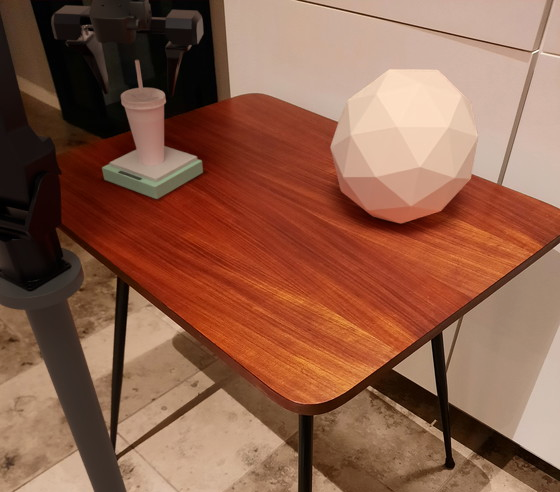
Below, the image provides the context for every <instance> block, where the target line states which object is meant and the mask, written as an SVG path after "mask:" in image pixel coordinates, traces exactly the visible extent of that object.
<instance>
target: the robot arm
mask: <svg viewBox="0 0 560 492" xmlns="http://www.w3.org/2000/svg"><path fill="white" fill-rule="evenodd" d="M50 21H51V28H52V33H53V37H54V39H55V40H58V41H65V44H66V46H67V47H69V48H73V49H75V50H76V51H77V52H78V53H80V54H81V55H82V57H83V59H84V60H85V61H86V63H87V64H88V66H89V68H90V69H91V71H92V73H93V75H94V77H95V79H96V80H97V83H98V84H99V87H100V88H101V90H102V92H103V94H104V95H108V94H110V85H109V83H110V82H109V76H108V72H107V70H108V69H107V66H106V60H105V54H104V50H103V45H102V44H107V43H121V44H122V45H130V44H132V43H134V42H135V41H136V37H137V34H142V35H143V34H146V35H164V36H165V38H166V39H167V40H168V43H167V44H166V46H164V49H165V54H166V65H167V67H166V68H167V69H166V70H167V71H166V72H167V91H168V97H169V98H173V96H174V94H175V89H176V84H177V79H178V75H179V70H180V65H181V62H182V58H183V55H184V54H185V52H188V51H189V50H190V49H191V47H192V46H195V45H199V43H200V41H201V39H202V37H203V36H204V21H203V16H202V14H201V13H200V12H199V10H191V9H189V10H188V9H171V11H170V12H169V13H168V14H167V16H166V17H159V16H158V17H157V16H156V17H155V16H152V9H151V3H149V0H92V2H91V5H67V4H66V5H64V6H63V7H61V8H60V9H58V10H57V11H55V12H53V14H52V16H51V20H50ZM15 69H16V68H15V65H14V61H13V57H12V53H11V49H10V44H9V42H8V37H7V33H6V29H5V25H4V22H3V17H2V13H1V12H0V277H1V278H3V279H5V280H7V281H9V282H11V283H13V284H14V285H16V286H18V287H20V288H22V289H24V290H26V291H28V292H31V291H34V290H36V289H37V288H39V287H41V286H42V285H44V284H46V283H47V282H49V281H50V280H52V279H54V278H55V277H57V276H59V275H60V274H62V273H64V272H65V271H67V270H69V269H70V268H71V267H72V266H71V263H70V262H68V261H65V260H63V259H62V258H63V252H62V248H63V247H62V245H61V242H60V238H59V234H58V232H57V228H59V227H60V226H61V225H62V222H63V221H62V220H63V219H62V187H61V179H60V176H62V175H63V171H62V170H61V168H60V165H59V163H58V158H57V152H56V150H57V149H56V145H55V143H54V140H53V139H52V138H51V137H48V136H44V135H40V134H39V135H38V134H37V133H36V132H35V131H34V129H33V128H32V127H31V126H30V124H29V121H28V118H27V113H26V109H25V105H24V102H23V98H22V94H21V93H22V92H21V89H20V85H19V80H18V77H17V73H16V70H15Z"/></svg>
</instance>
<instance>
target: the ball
mask: <svg viewBox="0 0 560 492" xmlns="http://www.w3.org/2000/svg"><path fill="white" fill-rule="evenodd" d="M478 140H479V133H478V129H477V124H476V119H475V114H474V110H473V105H472V101H471V100H469V98H468V97H466V95H464V94H463V93H462V91H461V90H460V89H458V88H457V86H456V85H454V83H452V82H451V80H449V79H448V78H447V77H446V76H445V75H444V74H443V73H442V72H441V71H440V70H439V69H412V68H411V69H407V68H405V69H404V68H389V69H388V70H386V71H385V72H384V73H382V74H381V75H380V76H378V77H377V78H375V79H374V80H373V81H372V82H370V83H369V84H367V85H366V86H364V87H363V88H362V89H361V90H360V91H358V92H357V93H355V94H354V95H352V96H351V97H350V98H349V99H348V100H347V102H346V103H345V106H344V108H343V110H342V112H341V115H340V117H339V119H338V122H337V124H336V128H335V132H334V134H333V136H332V140H331V144H330V152H331V157H332V161H333V164H334V168H335V173H336V178H337V181H338V186H339V189H340V192H341V193H342V194H344V196H346V197H347V198H349V199H350V200H351V201H353V202H354V203H355V204H356V205H357V206H358V207H360V208H361V209H363V210H364V211H365V212H366V213H368V214H369V215H370V216H372V217H373V218H376V219H380V220H384V221H389V222H393V223H397V224H404V223H407V222H410V221H413V220H418V219H420V218H423V217H427V216H429V215H432V214H435V213H440V212H441V211H442V210H444V209H445V207H446V206H447V205H448V204H449V203H450V202H451V200H453V199H454V198H455V197H456V195H457V194H458V193H459V192H460V191H461V190H462V189H463V188H464V187H465V186H466V184H468V183H469V182H470V180H471V179H472V173H473V168H474V164H475V163H474V162H475V157H476V153H477V147H478Z"/></svg>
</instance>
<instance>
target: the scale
mask: <svg viewBox="0 0 560 492" xmlns="http://www.w3.org/2000/svg"><path fill="white" fill-rule="evenodd" d="M101 170H102V171H101V172H102V175H103V180H104V181H106V182H108V183H109V182H110V183H112V184H115V185H117V186H120V187H122V188H126V189H128V190H131V191H134V192H136V193H139V194H142V195H144V196H147V197H149V198H152V199H155V200H159V199H160V198H162V197H164V196H166V195H167V194H169V193H170V192H172V191H174V190H175V189H177V188H179V187H180V186H183V185H184V184H186V183H188V182H189V181H191V180H193V179H195V178H196V177H198V176H200V175H202V174H203V173H204V168H203V160H202V159H198V156H197V155H194V154H190V153H188V152H184V151H182V150H178V149H175V148H172V147H169V146H167V145H164V162H163V163H161V164H159V165H154V166H148V165H144V164H142V163H141V162H140V159H139V156H138V152H137V149H136V148H135V150H132V151H130V152H128V153H126V154H124V155H121V156H120V157H118V158H116V159H113V160H112V161H109V163H108V164H106V165H104V166H102V167H101Z"/></svg>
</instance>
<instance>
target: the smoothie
mask: <svg viewBox="0 0 560 492" xmlns="http://www.w3.org/2000/svg"><path fill="white" fill-rule="evenodd" d="M134 63H135V71H136V76H137V84H138V87H135V88H131V89H128V90H127V89H126V90H125V91H123V92H122V93H121V94H120V100H121V105H122V106H123V107H124V111H125V113H126V118H127V120H128V125H129V129H130V131H131V135H132V138H133V142H134V145H135V150H136V149H137V152H138V156H139V159H140V162H141V163H142V164H144V165H148V166H154V165H159V164H161V163H163V162H164V146H165V104H166V103H167V100H166V94H165V92H164V91H163V90H160V89H158V88H155V87H144V85H143V80H142V79H143V78H142V73H141V72H142V71H141V64H140V60H139V59H135V60H134Z"/></svg>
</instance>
